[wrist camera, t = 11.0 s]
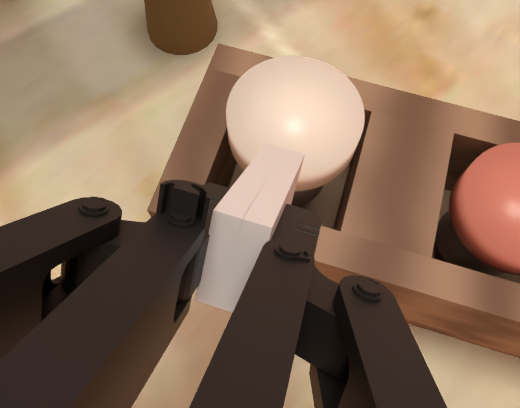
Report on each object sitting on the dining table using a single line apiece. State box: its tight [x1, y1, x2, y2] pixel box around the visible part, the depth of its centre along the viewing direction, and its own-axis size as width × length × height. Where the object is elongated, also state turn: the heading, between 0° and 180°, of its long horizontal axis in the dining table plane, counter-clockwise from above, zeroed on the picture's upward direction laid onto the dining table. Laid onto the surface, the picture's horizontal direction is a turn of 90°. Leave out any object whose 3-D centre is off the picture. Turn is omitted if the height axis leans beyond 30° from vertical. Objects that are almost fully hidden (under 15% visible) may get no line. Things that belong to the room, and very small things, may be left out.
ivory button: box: [226, 56, 365, 207], centre depth 27 cm, size 7×7×7 cm
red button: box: [436, 142, 520, 276], centre depth 28 cm, size 7×7×7 cm
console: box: [147, 44, 520, 358], centre depth 31 cm, size 26×12×8 cm, turn 73°
